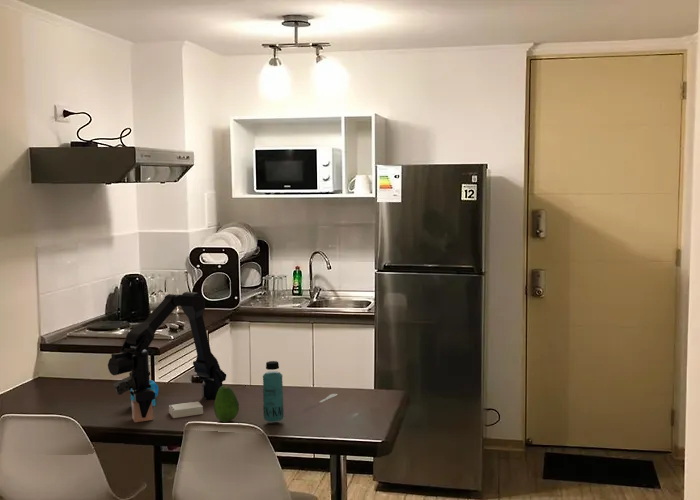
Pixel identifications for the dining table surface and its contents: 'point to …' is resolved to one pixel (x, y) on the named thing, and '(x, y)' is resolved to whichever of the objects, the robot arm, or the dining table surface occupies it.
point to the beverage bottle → (272, 393)
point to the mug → (152, 389)
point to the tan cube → (137, 413)
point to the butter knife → (329, 397)
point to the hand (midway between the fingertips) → (142, 415)
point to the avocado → (226, 404)
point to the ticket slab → (185, 409)
